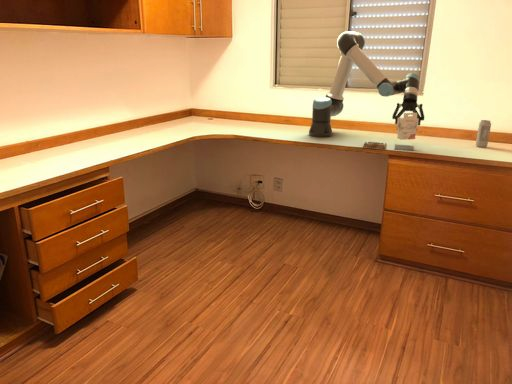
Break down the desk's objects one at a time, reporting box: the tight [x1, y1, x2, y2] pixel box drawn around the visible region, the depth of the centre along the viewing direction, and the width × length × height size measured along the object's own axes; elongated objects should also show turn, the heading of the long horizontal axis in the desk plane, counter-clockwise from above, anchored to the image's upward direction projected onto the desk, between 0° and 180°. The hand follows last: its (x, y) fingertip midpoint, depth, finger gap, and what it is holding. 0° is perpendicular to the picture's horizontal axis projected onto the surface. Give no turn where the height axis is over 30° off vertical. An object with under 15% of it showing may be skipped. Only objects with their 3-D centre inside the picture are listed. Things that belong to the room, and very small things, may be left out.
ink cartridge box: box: [397, 112, 417, 140], centre depth 238 cm, size 9×5×15 cm, turn 101°
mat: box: [393, 143, 414, 152], centre depth 242 cm, size 10×12×1 cm
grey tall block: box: [475, 119, 492, 149], centre depth 243 cm, size 6×6×15 cm
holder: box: [362, 141, 387, 150], centre depth 246 cm, size 12×13×2 cm
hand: (406, 129), depth 235 cm, fingers closed on ink cartridge box, 9 cm apart
